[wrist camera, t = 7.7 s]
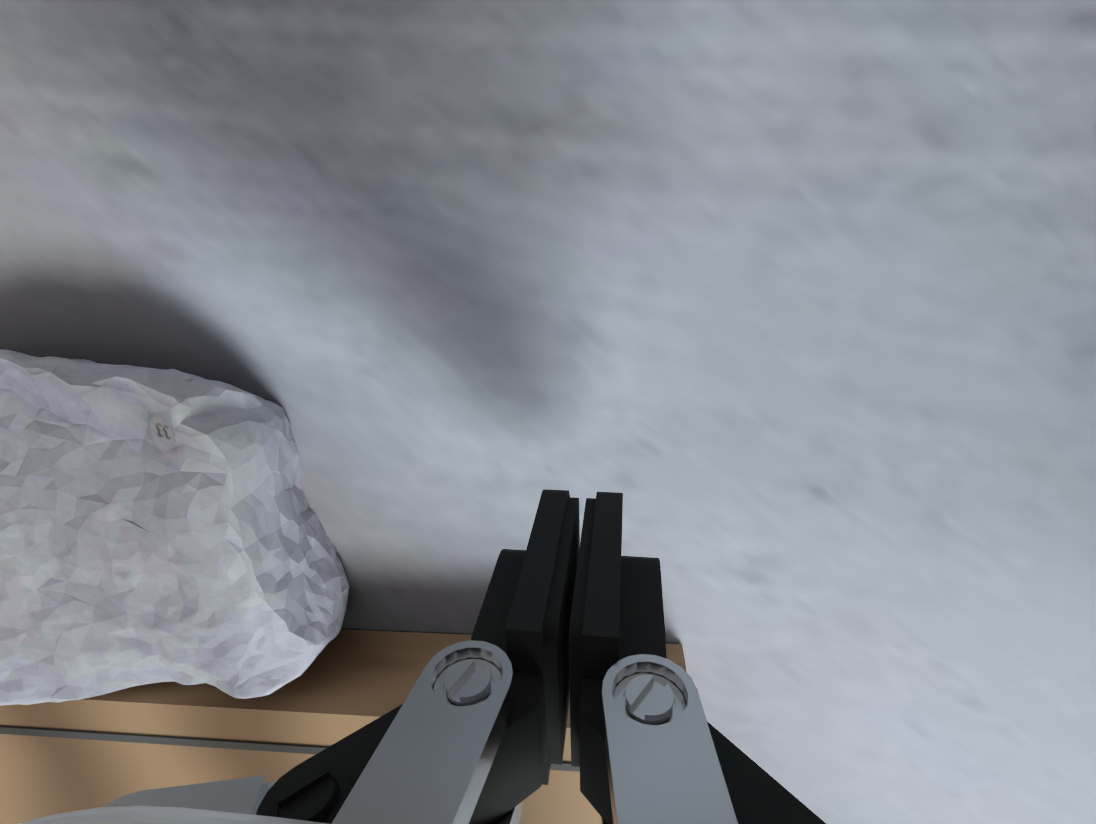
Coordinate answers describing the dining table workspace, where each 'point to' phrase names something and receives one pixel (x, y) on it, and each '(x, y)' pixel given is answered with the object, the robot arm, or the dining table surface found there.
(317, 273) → the dining table surface
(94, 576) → the stone block
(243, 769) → the brown wooden board
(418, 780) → the robot arm
